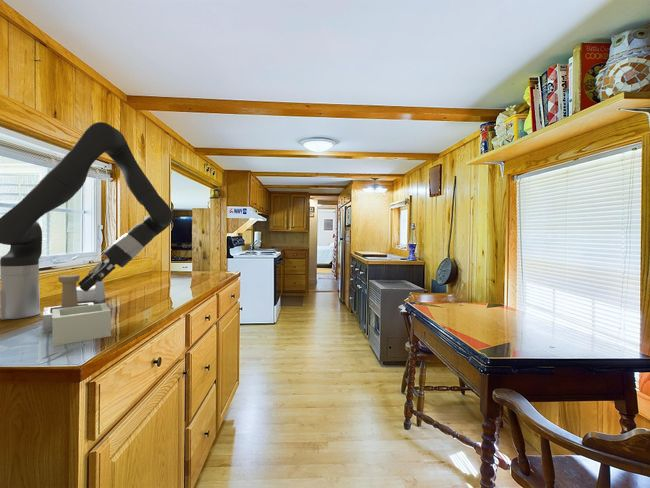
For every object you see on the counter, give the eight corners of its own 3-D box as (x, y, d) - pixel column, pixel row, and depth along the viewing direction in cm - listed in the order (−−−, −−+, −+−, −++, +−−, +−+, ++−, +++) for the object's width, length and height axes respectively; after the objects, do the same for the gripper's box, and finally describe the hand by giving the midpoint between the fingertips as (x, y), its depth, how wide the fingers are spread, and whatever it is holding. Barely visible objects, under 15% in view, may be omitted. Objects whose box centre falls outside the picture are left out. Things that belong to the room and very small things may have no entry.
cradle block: (52, 346, 77) (52, 318, 77) (52, 334, 86) (52, 309, 86) (111, 335, 85) (110, 310, 85) (105, 326, 94) (105, 303, 94)
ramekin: (90, 302, 125) (90, 290, 125) (63, 302, 125) (62, 289, 125) (110, 297, 136) (109, 285, 136) (85, 297, 136) (84, 285, 136)
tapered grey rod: (94, 339, 107) (93, 302, 102) (95, 301, 125) (94, 268, 120) (105, 337, 109) (105, 301, 104) (105, 300, 127) (104, 267, 122)
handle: (81, 320, 99) (80, 274, 99) (79, 325, 94) (78, 276, 94) (61, 323, 97) (60, 275, 96) (58, 328, 91) (57, 277, 91)
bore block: (43, 333, 87) (43, 315, 87) (44, 323, 96) (43, 307, 96) (96, 325, 95) (96, 308, 95) (92, 317, 104) (92, 302, 104)
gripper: (111, 241, 108) (69, 277, 100) (117, 242, 97) (71, 283, 90) (129, 256, 111) (90, 292, 104) (137, 259, 101) (94, 298, 93)
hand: (81, 287), depth 97 cm, fingers open, 8 cm apart
